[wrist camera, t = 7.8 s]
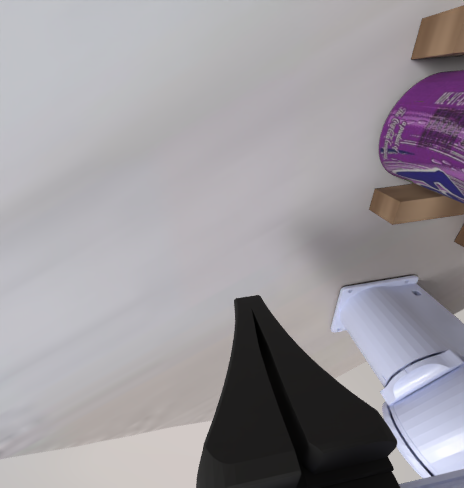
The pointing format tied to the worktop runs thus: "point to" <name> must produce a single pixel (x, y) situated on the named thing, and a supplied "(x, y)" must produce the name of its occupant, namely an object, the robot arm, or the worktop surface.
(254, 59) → the worktop surface
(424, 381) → the robot arm
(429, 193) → the pin nest
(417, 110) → the beverage can
